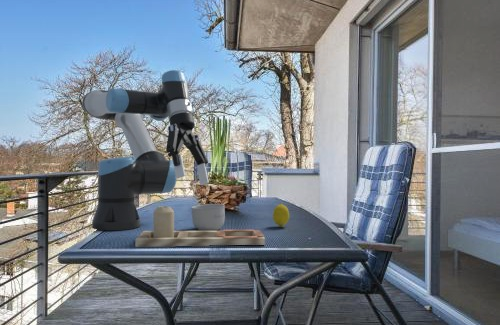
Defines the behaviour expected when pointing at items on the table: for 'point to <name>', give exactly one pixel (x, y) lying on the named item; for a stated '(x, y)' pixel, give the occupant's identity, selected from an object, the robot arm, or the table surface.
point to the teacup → (208, 216)
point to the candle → (163, 222)
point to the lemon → (281, 215)
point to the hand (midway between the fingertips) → (193, 180)
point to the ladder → (202, 238)
